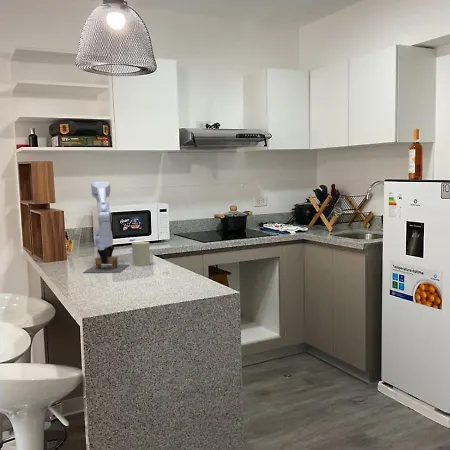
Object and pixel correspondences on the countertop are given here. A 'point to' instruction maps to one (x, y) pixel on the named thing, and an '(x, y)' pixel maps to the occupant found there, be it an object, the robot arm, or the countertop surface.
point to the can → (141, 253)
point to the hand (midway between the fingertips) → (106, 262)
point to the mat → (106, 269)
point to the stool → (110, 260)
